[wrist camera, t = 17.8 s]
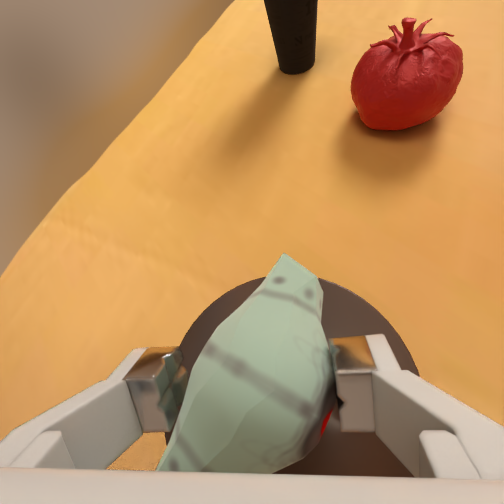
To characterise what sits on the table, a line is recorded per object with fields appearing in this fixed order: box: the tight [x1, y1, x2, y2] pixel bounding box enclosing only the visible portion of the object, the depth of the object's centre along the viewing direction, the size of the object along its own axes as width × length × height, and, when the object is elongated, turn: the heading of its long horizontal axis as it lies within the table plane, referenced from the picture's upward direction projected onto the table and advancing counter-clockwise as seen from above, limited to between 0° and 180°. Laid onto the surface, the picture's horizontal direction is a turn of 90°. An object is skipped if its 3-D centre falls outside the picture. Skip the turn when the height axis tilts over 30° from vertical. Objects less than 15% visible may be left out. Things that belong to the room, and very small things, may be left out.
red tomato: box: [351, 18, 463, 130], centre depth 30 cm, size 10×10×9 cm
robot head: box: [155, 253, 336, 474], centre depth 10 cm, size 8×4×7 cm, turn 149°
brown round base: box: [165, 277, 420, 478], centre depth 18 cm, size 12×12×10 cm
